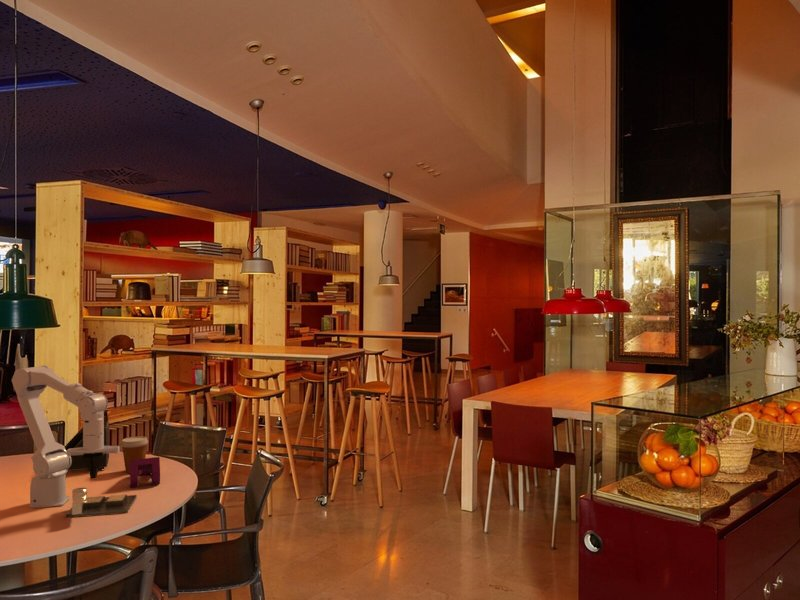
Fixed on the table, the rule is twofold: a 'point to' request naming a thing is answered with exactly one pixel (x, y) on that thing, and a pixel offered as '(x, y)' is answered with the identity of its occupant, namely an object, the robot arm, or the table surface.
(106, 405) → the robot arm
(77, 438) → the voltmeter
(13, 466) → the table surface
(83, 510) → the tray
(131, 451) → the disposable coffee cup
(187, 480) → the table surface
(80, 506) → the beige rectangular bar
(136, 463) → the mounting bracket
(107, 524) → the table surface
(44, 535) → the table surface
